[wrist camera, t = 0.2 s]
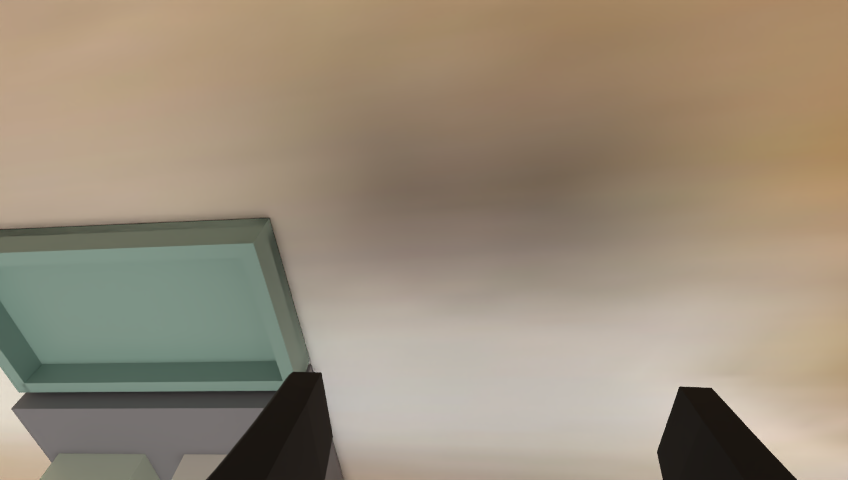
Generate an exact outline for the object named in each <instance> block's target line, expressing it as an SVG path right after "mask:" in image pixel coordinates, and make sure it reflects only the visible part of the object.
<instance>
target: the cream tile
mask: <svg viewBox="0 0 848 480" xmlns="http://www.w3.org/2000/svg"><path fill="white" fill-rule="evenodd" d="M226 456H227V455H215V454H184V456H183V458H182V460H181V462H180V464H179V466H178V468H177V470H176V471H175V473H174V475H173V477H172V479H171V480H206V479H207V478H208V477H209V476H210V474H211V473H212V472H213V471H214V470H215V469H216V468H217V466H218V465H219V464H220V463H221V462H222V461H223V459H224V458H225V457H226Z"/></svg>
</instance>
